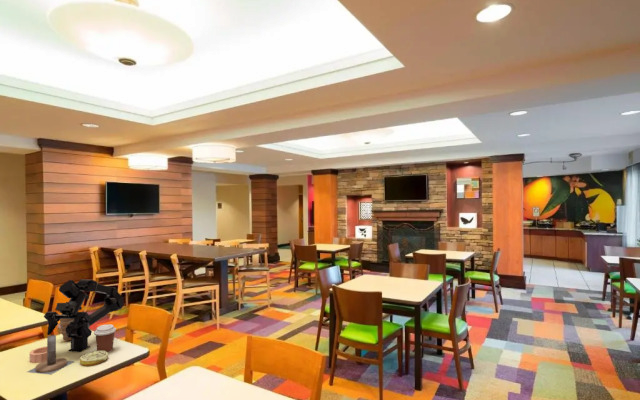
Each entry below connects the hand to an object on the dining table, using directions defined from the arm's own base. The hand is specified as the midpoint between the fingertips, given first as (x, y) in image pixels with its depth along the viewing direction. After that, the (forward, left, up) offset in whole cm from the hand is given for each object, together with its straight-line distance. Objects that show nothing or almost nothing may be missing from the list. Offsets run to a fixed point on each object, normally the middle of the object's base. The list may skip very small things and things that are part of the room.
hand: (58, 335), depth 159 cm
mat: (-1, +4, -12) cm, 13 cm away
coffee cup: (-12, -14, -13) cm, 22 cm away
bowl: (+10, -2, -12) cm, 16 cm away
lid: (-1, +4, -12) cm, 13 cm away
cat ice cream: (+16, -22, -13) cm, 30 cm away
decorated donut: (-15, -4, -13) cm, 20 cm away
